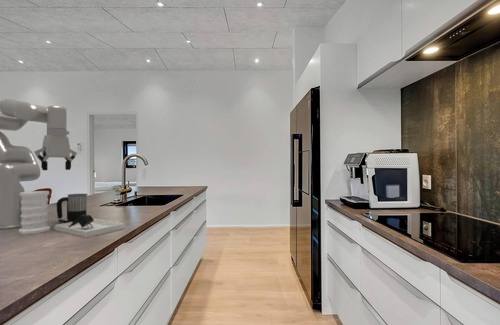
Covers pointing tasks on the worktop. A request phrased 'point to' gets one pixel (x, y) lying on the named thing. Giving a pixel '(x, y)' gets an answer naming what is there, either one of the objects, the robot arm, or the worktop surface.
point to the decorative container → (34, 212)
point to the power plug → (83, 221)
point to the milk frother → (72, 207)
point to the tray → (97, 229)
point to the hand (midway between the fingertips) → (56, 169)
